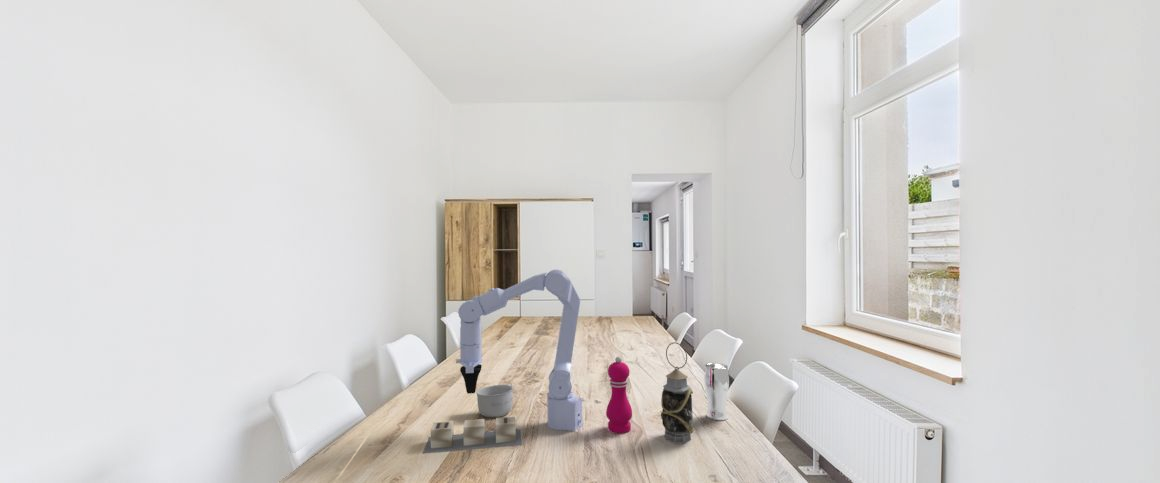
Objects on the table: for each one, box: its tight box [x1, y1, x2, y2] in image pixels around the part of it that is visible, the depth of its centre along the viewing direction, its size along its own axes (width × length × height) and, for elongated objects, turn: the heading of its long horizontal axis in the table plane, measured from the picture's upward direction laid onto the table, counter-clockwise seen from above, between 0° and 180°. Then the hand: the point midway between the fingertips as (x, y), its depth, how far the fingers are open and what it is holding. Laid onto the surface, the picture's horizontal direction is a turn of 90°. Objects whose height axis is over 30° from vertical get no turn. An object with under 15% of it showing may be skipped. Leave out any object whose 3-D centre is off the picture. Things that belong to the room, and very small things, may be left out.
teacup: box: [476, 383, 514, 419], centre depth 138 cm, size 14×11×8 cm
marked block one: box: [495, 416, 517, 443], centre depth 118 cm, size 5×5×5 cm
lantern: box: [660, 342, 694, 444], centre depth 119 cm, size 9×8×25 cm
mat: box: [422, 429, 523, 454], centre depth 117 cm, size 24×10×1 cm, turn 100°
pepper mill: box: [605, 356, 633, 434], centre depth 125 cm, size 7×7×20 cm
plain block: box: [463, 418, 486, 446], centre depth 117 cm, size 5×5×4 cm
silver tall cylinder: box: [703, 362, 730, 421], centre depth 134 cm, size 7×7×15 cm
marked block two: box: [430, 421, 455, 448], centre depth 115 cm, size 5×5×5 cm
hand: (471, 392), depth 126 cm, fingers closed
